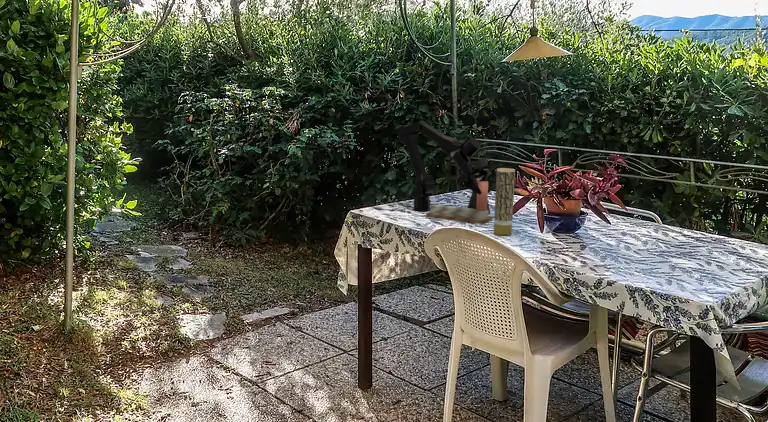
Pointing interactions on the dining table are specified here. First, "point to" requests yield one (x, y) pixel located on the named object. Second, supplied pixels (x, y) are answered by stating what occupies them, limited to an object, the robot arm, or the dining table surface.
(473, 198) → the door stopper
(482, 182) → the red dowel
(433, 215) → the ridge board
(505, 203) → the bark log
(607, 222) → the dining table surface
